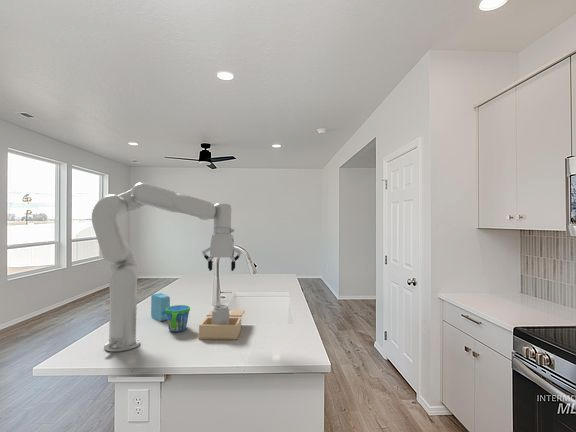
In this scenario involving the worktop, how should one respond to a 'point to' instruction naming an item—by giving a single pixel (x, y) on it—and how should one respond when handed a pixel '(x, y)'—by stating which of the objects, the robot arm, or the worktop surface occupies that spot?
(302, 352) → the worktop surface
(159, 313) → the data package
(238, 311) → the lid
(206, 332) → the box
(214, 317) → the can
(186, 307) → the snack cup
